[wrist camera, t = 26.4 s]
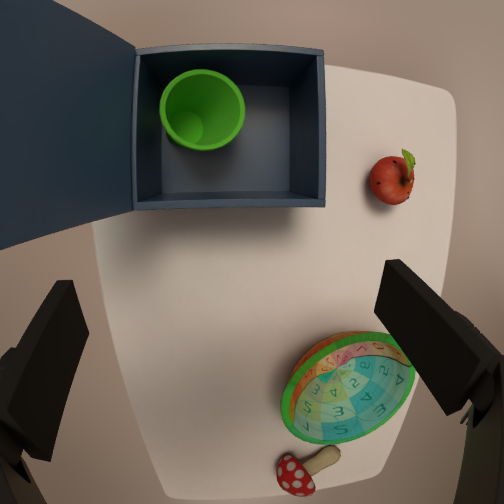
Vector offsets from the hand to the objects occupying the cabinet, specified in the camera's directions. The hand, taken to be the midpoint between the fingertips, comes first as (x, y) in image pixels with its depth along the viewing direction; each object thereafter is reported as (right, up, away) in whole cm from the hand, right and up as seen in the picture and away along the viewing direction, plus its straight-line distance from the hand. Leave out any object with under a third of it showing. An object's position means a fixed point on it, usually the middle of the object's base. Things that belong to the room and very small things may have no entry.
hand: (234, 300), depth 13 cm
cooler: (-3, +18, +29) cm, 34 cm away
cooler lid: (-12, +11, +5) cm, 17 cm away
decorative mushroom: (+12, -43, +46) cm, 64 cm away
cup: (-8, +18, +27) cm, 34 cm away
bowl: (+15, -17, +40) cm, 46 cm away
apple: (+20, +13, +33) cm, 41 cm away
